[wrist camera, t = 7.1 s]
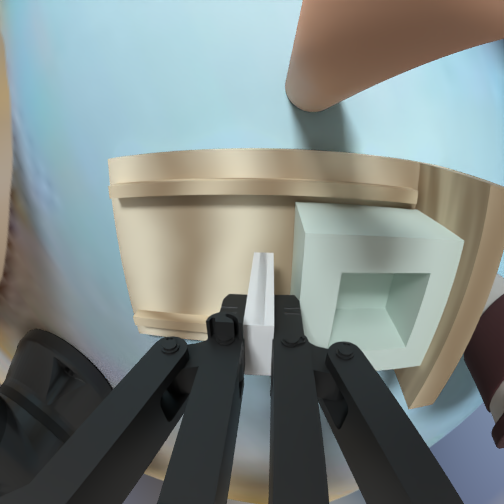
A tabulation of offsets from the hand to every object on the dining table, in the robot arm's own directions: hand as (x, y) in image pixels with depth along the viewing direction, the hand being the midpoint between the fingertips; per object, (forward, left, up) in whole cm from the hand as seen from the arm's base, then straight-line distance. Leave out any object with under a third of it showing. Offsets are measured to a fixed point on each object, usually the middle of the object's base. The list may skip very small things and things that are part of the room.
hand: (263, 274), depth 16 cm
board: (+1, 0, -3) cm, 3 cm away
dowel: (+3, +11, -3) cm, 12 cm away
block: (+6, 0, -2) cm, 6 cm away
